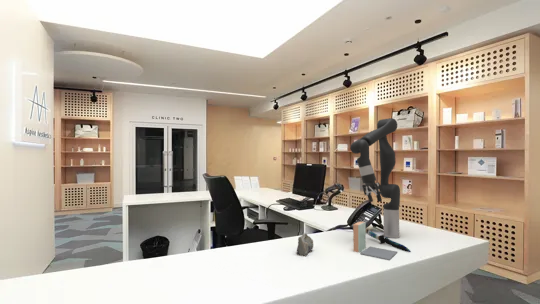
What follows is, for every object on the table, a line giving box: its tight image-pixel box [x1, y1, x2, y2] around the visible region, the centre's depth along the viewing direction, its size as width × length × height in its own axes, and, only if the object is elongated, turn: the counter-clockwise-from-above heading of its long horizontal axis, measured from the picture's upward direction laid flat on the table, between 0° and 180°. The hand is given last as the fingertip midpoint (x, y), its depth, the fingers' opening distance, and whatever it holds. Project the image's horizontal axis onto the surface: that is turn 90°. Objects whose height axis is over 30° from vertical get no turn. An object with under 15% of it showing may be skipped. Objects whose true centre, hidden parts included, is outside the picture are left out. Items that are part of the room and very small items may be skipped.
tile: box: [352, 221, 367, 253], centre depth 146 cm, size 10×3×14 cm, turn 142°
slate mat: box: [359, 246, 398, 261], centre depth 140 cm, size 15×14×1 cm
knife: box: [366, 229, 412, 253], centre depth 155 cm, size 31×3×4 cm, turn 21°
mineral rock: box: [296, 232, 314, 256], centre depth 141 cm, size 13×11×10 cm
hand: (375, 201), depth 155 cm, fingers open, 8 cm apart
